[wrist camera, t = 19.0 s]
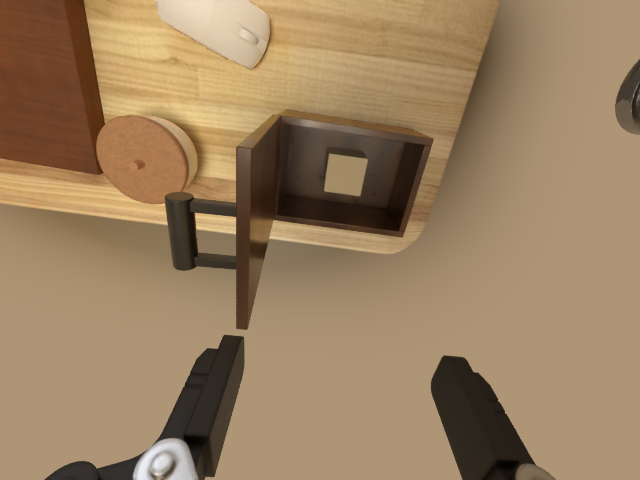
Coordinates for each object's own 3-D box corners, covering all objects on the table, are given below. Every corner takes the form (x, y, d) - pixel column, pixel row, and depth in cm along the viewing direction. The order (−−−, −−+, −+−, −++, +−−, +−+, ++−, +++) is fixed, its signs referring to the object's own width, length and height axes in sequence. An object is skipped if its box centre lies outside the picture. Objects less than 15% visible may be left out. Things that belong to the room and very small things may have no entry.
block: (328, 146, 40) (329, 153, 35) (363, 151, 40) (368, 159, 36) (323, 180, 42) (323, 191, 38) (356, 185, 42) (360, 196, 38)
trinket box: (139, 96, 38) (87, 98, 30) (217, 132, 40) (188, 143, 32) (129, 169, 43) (82, 188, 34) (199, 197, 45) (170, 222, 36)
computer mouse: (259, 75, 37) (247, 73, 31) (158, 18, 34) (126, 4, 28) (278, 20, 34) (269, 7, 28) (171, -47, 31) (137, -76, 26)
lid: (252, 148, 14) (138, 133, 14) (247, 330, 20) (167, 325, 19) (280, 115, 30) (228, 108, 30) (273, 221, 36) (229, 217, 36)
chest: (412, 129, 39) (434, 138, 31) (389, 212, 45) (402, 237, 37) (286, 109, 38) (277, 114, 31) (280, 197, 44) (270, 219, 37)
